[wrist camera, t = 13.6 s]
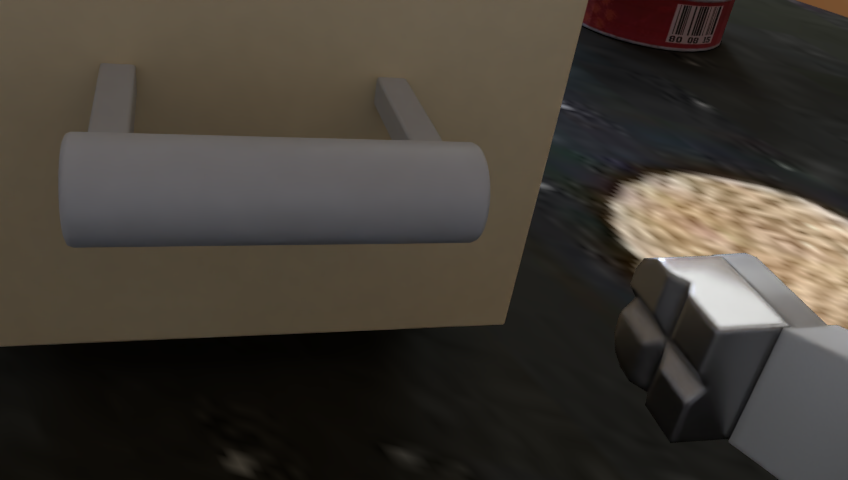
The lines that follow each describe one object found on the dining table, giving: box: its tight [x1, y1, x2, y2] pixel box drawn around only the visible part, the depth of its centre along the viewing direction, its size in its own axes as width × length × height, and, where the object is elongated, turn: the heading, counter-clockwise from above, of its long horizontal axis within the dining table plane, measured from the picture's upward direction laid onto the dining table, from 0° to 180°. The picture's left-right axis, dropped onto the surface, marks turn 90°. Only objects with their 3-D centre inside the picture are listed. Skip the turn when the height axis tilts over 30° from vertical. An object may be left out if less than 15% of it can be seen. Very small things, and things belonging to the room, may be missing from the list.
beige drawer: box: [0, 0, 588, 347], centre depth 20 cm, size 19×13×10 cm, turn 15°
